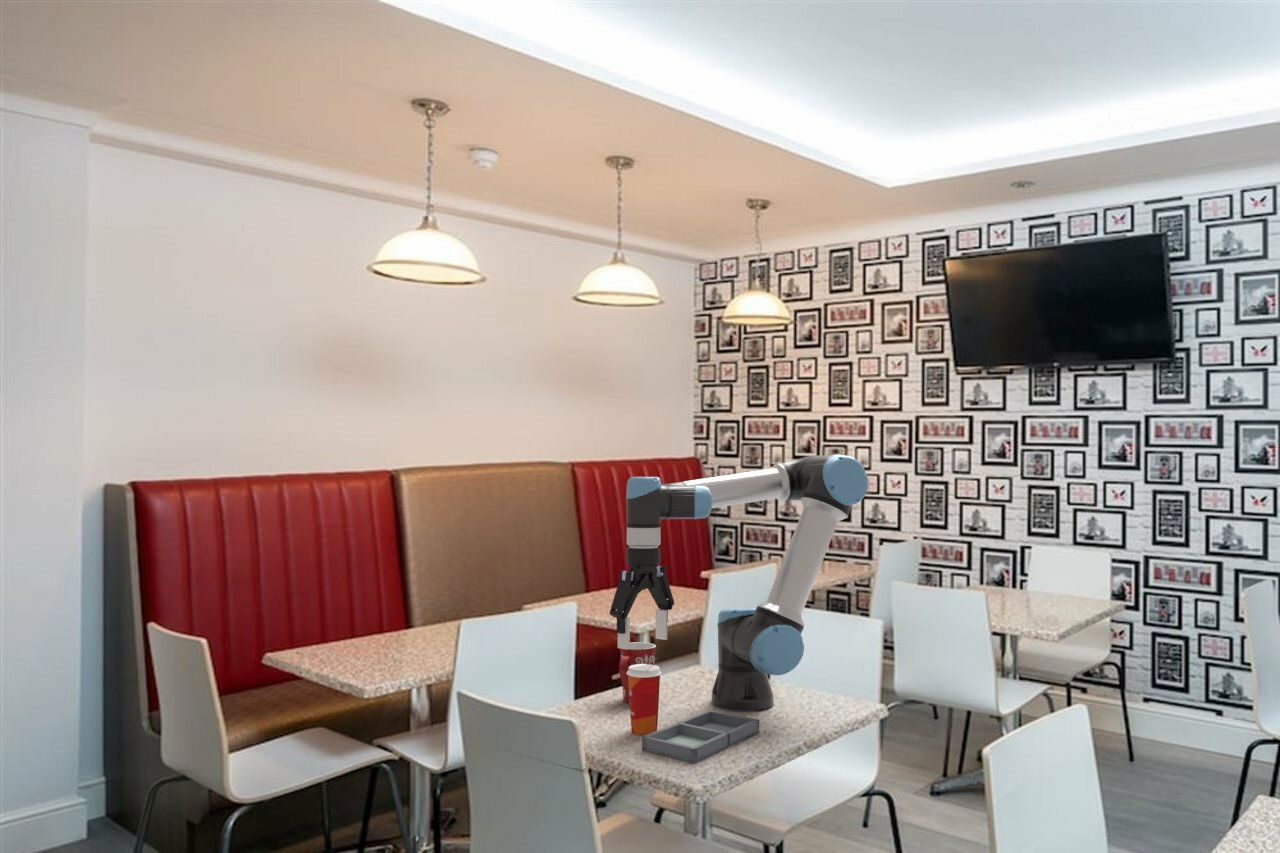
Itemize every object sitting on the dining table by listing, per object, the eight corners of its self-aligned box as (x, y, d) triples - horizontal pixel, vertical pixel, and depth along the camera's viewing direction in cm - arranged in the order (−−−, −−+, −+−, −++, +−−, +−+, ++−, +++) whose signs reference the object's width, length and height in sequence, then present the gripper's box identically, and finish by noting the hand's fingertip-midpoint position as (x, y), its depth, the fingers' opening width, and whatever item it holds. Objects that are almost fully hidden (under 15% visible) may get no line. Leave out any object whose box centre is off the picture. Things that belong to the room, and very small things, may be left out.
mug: (631, 693, 226) (631, 640, 227) (662, 698, 221) (662, 643, 222) (604, 705, 215) (604, 649, 216) (636, 710, 210) (636, 653, 211)
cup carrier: (709, 722, 200) (709, 709, 201) (759, 732, 192) (759, 719, 193) (641, 750, 181) (641, 736, 181) (694, 763, 173) (694, 749, 173)
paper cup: (638, 724, 199) (638, 661, 200) (668, 729, 195) (667, 665, 196) (619, 733, 192) (619, 668, 193) (650, 739, 188) (650, 672, 189)
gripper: (663, 541, 207) (662, 633, 206) (593, 549, 188) (592, 650, 187) (689, 543, 203) (689, 637, 202) (620, 551, 183) (620, 655, 182)
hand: (643, 643), depth 194 cm, fingers open, 13 cm apart
